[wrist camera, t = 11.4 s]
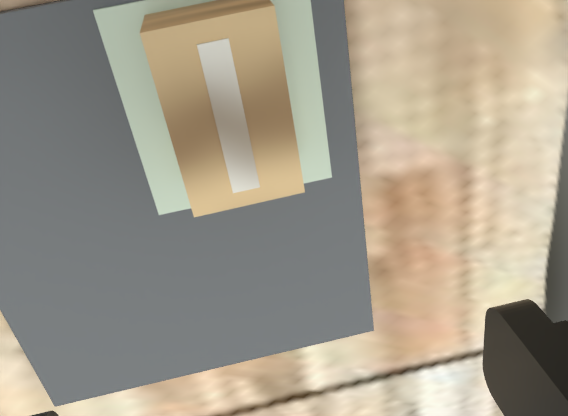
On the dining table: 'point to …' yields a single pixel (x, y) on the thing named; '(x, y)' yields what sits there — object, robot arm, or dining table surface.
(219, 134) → the oak block
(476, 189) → the dining table surface
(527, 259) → the dining table surface
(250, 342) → the rubber mat
